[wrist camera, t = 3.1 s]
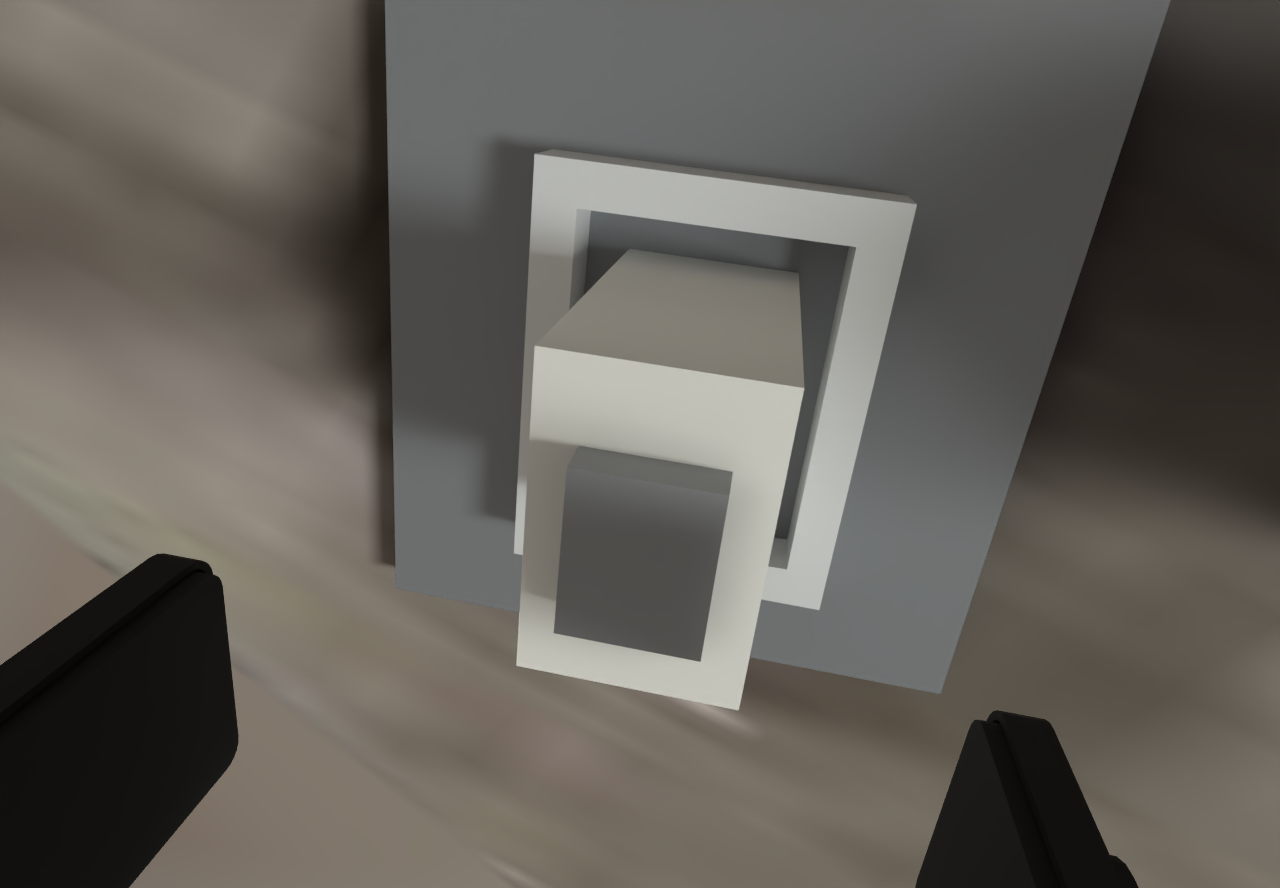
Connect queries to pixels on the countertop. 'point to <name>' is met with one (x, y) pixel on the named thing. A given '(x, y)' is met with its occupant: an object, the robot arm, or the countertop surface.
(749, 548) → the plug
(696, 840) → the countertop surface
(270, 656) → the countertop surface
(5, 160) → the countertop surface
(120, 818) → the robot arm
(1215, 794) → the countertop surface
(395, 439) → the socket panel
